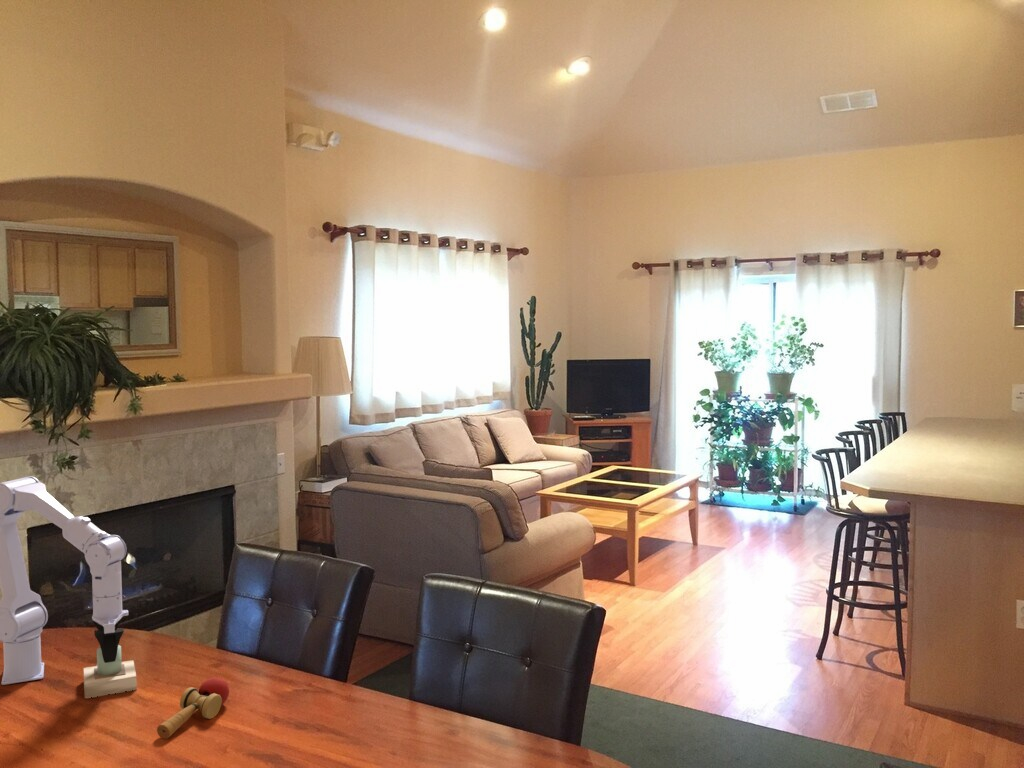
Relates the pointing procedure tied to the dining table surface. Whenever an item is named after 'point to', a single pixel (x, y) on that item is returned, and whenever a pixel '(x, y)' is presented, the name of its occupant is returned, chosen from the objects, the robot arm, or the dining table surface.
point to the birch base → (109, 681)
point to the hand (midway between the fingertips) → (109, 655)
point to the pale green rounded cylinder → (108, 664)
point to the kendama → (197, 704)
